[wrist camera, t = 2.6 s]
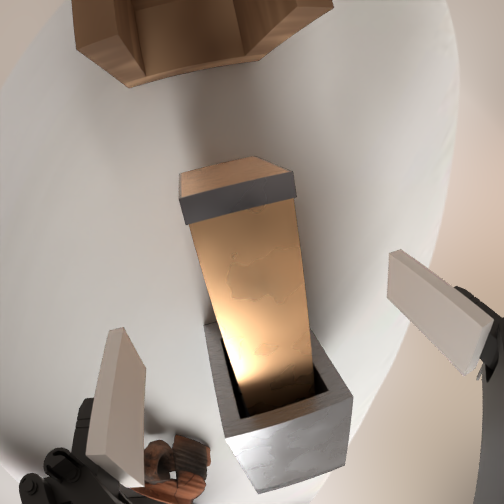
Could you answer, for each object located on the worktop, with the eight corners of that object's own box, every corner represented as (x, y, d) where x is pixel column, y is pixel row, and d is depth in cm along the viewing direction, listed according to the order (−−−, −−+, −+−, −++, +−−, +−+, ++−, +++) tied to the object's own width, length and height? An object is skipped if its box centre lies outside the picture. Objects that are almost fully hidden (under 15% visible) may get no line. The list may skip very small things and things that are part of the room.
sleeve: (233, 402, 27) (258, 494, 18) (203, 325, 23) (225, 438, 13) (302, 381, 28) (344, 465, 19) (292, 300, 23) (353, 396, 14)
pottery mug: (225, 454, 32) (211, 511, 26) (159, 438, 34) (143, 490, 28) (191, 430, 24) (168, 509, 18) (110, 407, 26) (87, 474, 20)
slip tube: (249, 407, 24) (266, 463, 19) (179, 173, 16) (178, 198, 10) (294, 393, 25) (319, 446, 19) (254, 155, 16) (292, 171, 11)
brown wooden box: (128, 88, 15) (76, 49, 6) (116, 13, 13) (71, -68, 4) (258, 60, 16) (334, 7, 7) (242, -12, 14) (297, -98, 5)
